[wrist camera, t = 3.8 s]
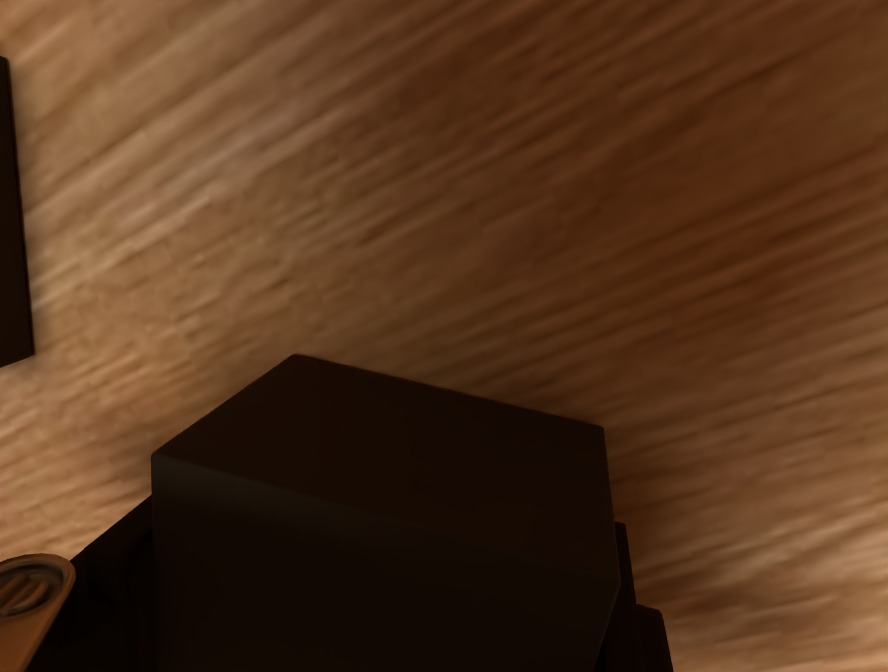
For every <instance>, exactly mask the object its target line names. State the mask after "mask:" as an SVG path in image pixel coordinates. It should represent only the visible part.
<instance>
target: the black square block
mask: <svg viewBox="0 0 888 672" xmlns="http://www.w3.org/2000/svg"><path fill="white" fill-rule="evenodd" d="M31 355H32V349H31V338H30V327H29V316H28V305H27V295H26V284H25V273H24V262H23V251H22V240H21V229H20V218H19V208H18V197H17V186H16V175H15V164H14V153H13V142H12V132H11V121H10V110H9V99H8V88H7V77H6V66H5V60H4V58H3V57H1V56H0V368H1V367H3V366H6V365H9V364H12V363H14V362H17V361H20V360H22V359H25V358H28V357H30V356H31Z"/></svg>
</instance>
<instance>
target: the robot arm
mask: <svg viewBox="0 0 888 672" xmlns="http://www.w3.org/2000/svg"><path fill="white" fill-rule="evenodd" d="M614 524H615V533H616V542H617V551H618V560H619V569H620V578H621V586H620V589H619V592H618V595H617V598H616V601H615V604H614V607H613V610H612V614H611V617H610V620H609V623H608V626H607V629H606V632H605V635H604V638H603V642H602V645H601V648H600V651H599V654H598V657H597V660H596V663H595V666H594V670H593V672H674V671H673V666H672V661H671V656H670V651H669V646H668V640H667V635H666V630H665V625H664V620H663V617H662V613H661V612H660V611H659V610H657V609H654V608H650V607H647V606H643V605H640V604H637V603H636V596H635V588H634V581H633V574H632V567H631V560H630V553H629V546H628V538H627V531H626V526H625V524H623V523H619V522H615V521H614ZM0 672H156V640H155V585H154V550H153V538H152V495H150V496H149V497H148V498H147V499H145V500H144V501H143V502H142V503H140V504H139V505H138V506H137V507H135V508H134V509H133V510H132V511H130V512H129V513H128V514H127V515H125V516H124V517H123V518H122V519H120V520H119V521H118V522H117V523H115V524H114V525H113V526H112V527H110V528H109V529H108V530H107V531H105V532H104V533H103V534H102V535H100V536H99V537H98V538H97V539H95V540H94V541H93V542H92V543H90V544H89V545H88V546H87V547H85V548H84V550H83V551H81V552H80V553H79V554H78V555H76V556H75V557H74V558H73V559H71V560H70V561H68V559H65V558H63V557H60V556H58V555H53V554H44V553H39V554H27V555H22V556H18V557H14V558H10V559H7V560H4V561H2V562H0Z"/></svg>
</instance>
